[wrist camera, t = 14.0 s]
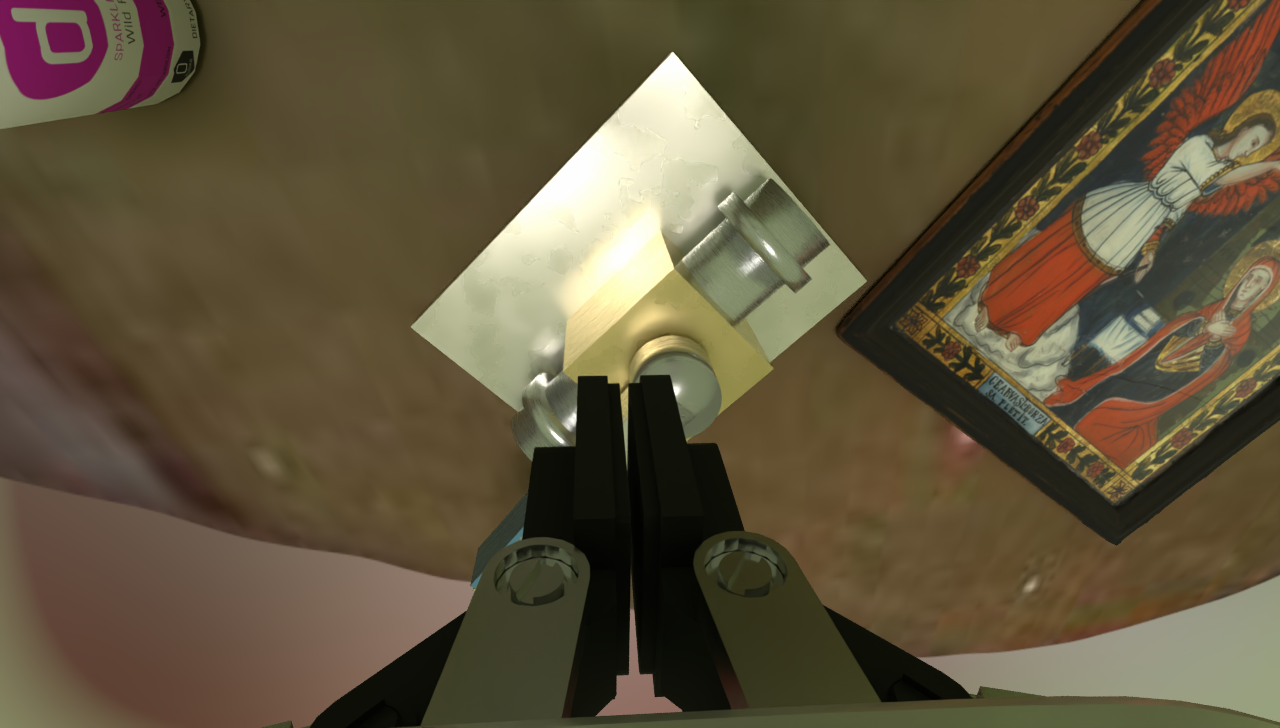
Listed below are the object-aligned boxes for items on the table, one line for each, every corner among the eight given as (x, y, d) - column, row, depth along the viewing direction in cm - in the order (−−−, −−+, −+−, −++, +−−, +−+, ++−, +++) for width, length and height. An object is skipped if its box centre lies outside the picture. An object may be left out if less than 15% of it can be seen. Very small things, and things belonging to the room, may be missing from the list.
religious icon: (1264, -247, 32) (1322, -270, 30) (1585, 136, 42) (1649, 143, 40) (796, 365, 46) (808, 385, 43) (1123, 542, 56) (1149, 567, 53)
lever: (665, 319, 34) (672, 344, 31) (728, 366, 35) (740, 393, 32) (467, 545, 39) (458, 583, 36) (529, 578, 41) (525, 616, 38)
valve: (670, 51, 36) (691, 55, 29) (861, 276, 42) (916, 324, 35) (414, 320, 42) (378, 380, 34) (616, 481, 48) (621, 559, 41)
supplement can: (191, -67, 32) (-95, -141, 19) (218, 113, 36) (-6, 161, 22) (6, -94, 31) (-436, -191, 18) (53, 95, 35) (-285, 132, 21)
